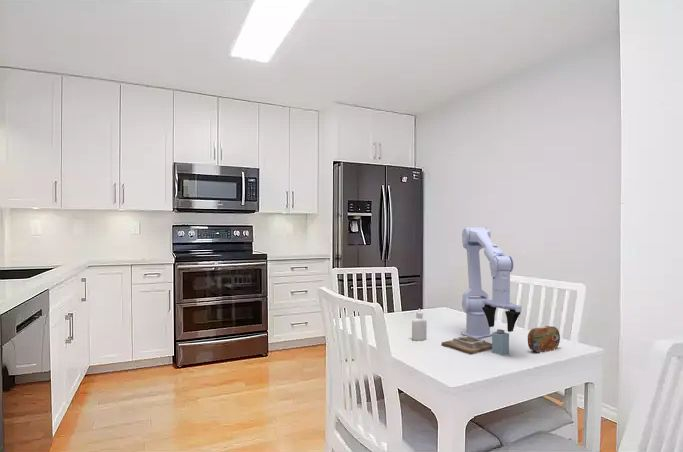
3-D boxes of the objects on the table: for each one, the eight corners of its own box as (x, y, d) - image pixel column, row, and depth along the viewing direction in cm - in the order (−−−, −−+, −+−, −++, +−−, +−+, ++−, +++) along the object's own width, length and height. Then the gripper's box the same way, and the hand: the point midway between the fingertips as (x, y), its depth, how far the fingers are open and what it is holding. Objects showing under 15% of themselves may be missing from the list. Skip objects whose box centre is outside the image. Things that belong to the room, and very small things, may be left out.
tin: (533, 354, 140) (533, 330, 140) (525, 351, 142) (525, 328, 143) (560, 348, 147) (561, 325, 147) (552, 346, 149) (553, 323, 149)
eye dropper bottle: (411, 337, 159) (411, 307, 159) (426, 338, 158) (426, 307, 158) (412, 340, 155) (412, 309, 155) (426, 341, 154) (427, 310, 154)
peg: (498, 350, 143) (499, 328, 143) (508, 353, 140) (509, 330, 140) (491, 352, 141) (492, 329, 141) (502, 355, 138) (502, 332, 138)
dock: (467, 339, 158) (467, 332, 158) (496, 347, 147) (496, 340, 147) (441, 345, 149) (441, 338, 149) (470, 354, 138) (470, 347, 138)
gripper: (527, 292, 137) (526, 332, 137) (490, 286, 149) (490, 323, 149) (514, 293, 133) (514, 334, 133) (478, 288, 145) (477, 325, 145)
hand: (500, 328), depth 141 cm, fingers open, 7 cm apart
